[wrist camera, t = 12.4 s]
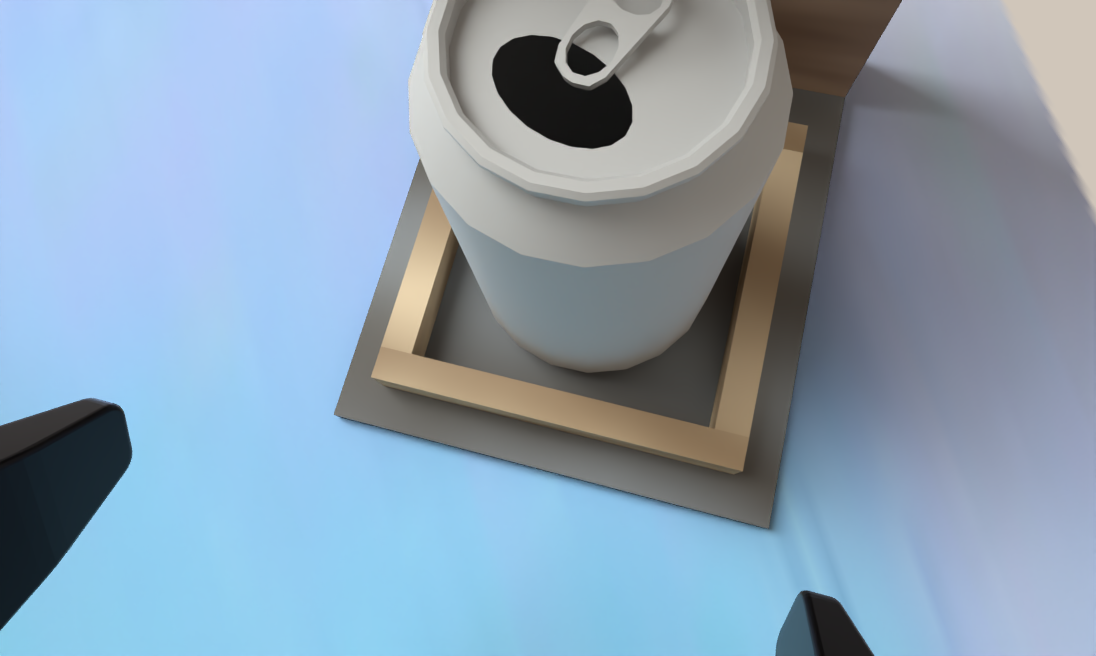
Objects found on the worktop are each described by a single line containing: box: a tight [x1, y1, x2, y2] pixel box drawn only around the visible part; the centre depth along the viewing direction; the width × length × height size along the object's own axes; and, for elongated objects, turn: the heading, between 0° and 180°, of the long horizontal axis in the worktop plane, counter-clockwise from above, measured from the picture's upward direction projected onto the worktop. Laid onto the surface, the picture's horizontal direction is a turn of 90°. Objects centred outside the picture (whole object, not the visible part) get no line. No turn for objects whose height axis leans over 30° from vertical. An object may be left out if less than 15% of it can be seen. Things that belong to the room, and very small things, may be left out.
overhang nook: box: [334, 0, 902, 528], centre depth 16 cm, size 17×14×18 cm
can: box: [408, 0, 793, 373], centre depth 18 cm, size 8×8×12 cm
